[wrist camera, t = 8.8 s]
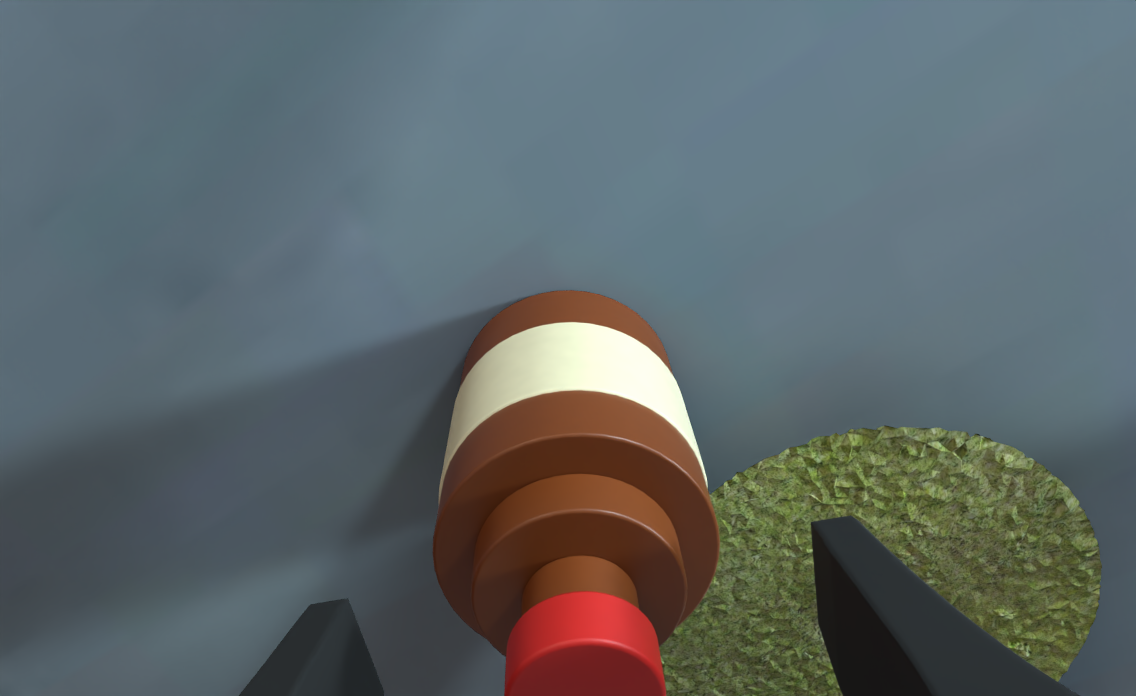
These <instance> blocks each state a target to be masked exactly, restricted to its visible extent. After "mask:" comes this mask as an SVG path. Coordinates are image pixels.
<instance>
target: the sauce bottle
mask: <svg viewBox="0 0 1136 696" xmlns="http://www.w3.org/2000/svg"><path fill="white" fill-rule="evenodd" d="M719 550H720V537H719V527H718V523H717V519H716V515H715V512H714V508H713V505H712V502H711V499H710V495H709V492H708V487H707V477H706V474H705V470H704V466H703V463H702V459H701V456H700V453H699V450H698V446H697V443H696V440H695V437H694V433H693V430H692V427H691V424H690V420H689V417H688V414H687V411H686V408H685V404H684V401H683V398H682V395H681V392H680V389H679V387H678V385H677V382H676V380H675V378H674V377H673V373H672V370H671V367H670V363H669V360H668V357H667V354H666V352H665V349H664V347H663V345H662V343H661V341H660V339H659V338H658V336H657V334H656V333H655V332H654V330H653V329H652V328H651V327H650V326H649V324H648V323H647V322H646V321H645V320H644V319H643V318H641V317H640V316H639V315H638V314H637V313H636V312H634V311H633V310H631V309H630V308H628V307H627V306H625V305H623V304H621V303H619V302H617V301H615V300H613V299H610V298H608V297H605V296H602V295H599V294H594V293H589V292H583V291H572V290H570V291H553V292H547V293H541V294H538V295H534V296H531V297H528V298H526V299H523V300H521V301H518V302H516V303H514V304H513V305H511V306H509V307H507V308H506V309H504V310H503V311H501V312H500V313H499V314H497V315H496V316H495V317H494V318H492V319H491V320H490V321H489V322H488V323H487V324H486V325H485V326H484V327H483V329H482V330H481V331H480V333H479V334H478V335H477V337H476V338H475V340H474V342H473V344H472V345H471V347H470V349H469V352H468V354H467V357H466V360H465V363H464V368H463V372H462V378H461V384H460V389H459V392H458V395H457V398H456V401H455V405H454V410H453V415H452V420H451V426H450V431H449V437H448V442H447V448H446V453H445V459H444V464H443V470H442V475H441V481H440V486H439V508H438V514H437V519H436V525H435V531H434V536H433V561H434V569H435V572H436V576H437V579H438V582H439V585H440V587H441V589H442V591H443V593H444V595H445V597H446V599H447V600H448V602H449V604H450V605H451V607H452V608H453V610H454V611H455V612H456V613H457V614H458V615H459V616H460V618H461V619H462V620H463V621H464V622H465V623H466V624H467V625H469V626H470V627H471V628H472V629H473V630H474V631H475V632H477V633H478V634H480V635H481V636H483V637H484V638H486V639H487V640H488V641H489V642H490V643H491V644H492V646H493V647H494V648H496V649H497V650H498V651H499V652H500V653H501V654H503V655H504V656H506V672H505V693H504V696H666V686H665V680H664V674H663V668H662V662H661V656H660V650H659V647H660V646H661V645H662V644H663V643H664V642H665V641H666V640H667V639H668V638H669V637H670V635H671V634H672V633H673V632H674V630H675V628H676V627H678V626H679V625H680V624H681V623H682V622H683V621H684V620H685V619H686V618H687V617H688V616H689V615H690V614H691V613H692V612H693V611H694V610H695V608H696V607H697V606H698V605H699V603H700V602H701V601H702V599H703V597H704V596H705V594H706V592H707V591H708V589H709V587H710V585H711V582H712V580H713V577H714V575H715V572H716V568H717V563H718V559H719Z"/></svg>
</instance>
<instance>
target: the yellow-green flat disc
mask: <svg viewBox="0 0 1136 696" xmlns="http://www.w3.org/2000/svg"><path fill="white" fill-rule="evenodd" d="M710 499H711V502H712V505H713V508H714V512H715V515H716V519H717V523H718V527H719V537H720V550H719V559H718V563H717V568H716V572H715V575H714V577H713V580H712V582H711V585H710V587H709V589H708V591H707V592H706V594H705V596H704V597H703V599H702V601H701V602H700V603H699V605H698V606H697V607H696V608H695V610H694V611H693V612H692V613H691V614H690V615H689V616H688V617H687V618H686V619H685V620H684V621H683V622H682V623H681V624H680V625H679V626H678V627H676V628H675V630H674V632H673V633H672V634H671V635H670V637H669V638H668V639H667V640H666V641H665V642H664V643H663V644H662V645H661V646H660V647H659V650H660V656H661V662H662V668H663V674H664V680H665V686H666V696H843V694H842V692H841V690H840V688H839V685H838V682H837V679H836V676H835V673H834V670H833V667H832V664H831V661H830V658H829V655H828V652H827V649H826V646H825V643H824V640H823V637H822V634H821V631H820V628H819V624H818V614H817V601H816V588H815V574H814V561H813V548H812V535H811V522H814V521H820V520H826V519H832V518H838V517H844V516H850V515H851V516H853V517H854V518H856V519H857V520H859V521H860V522H861V523H862V524H863V525H864V526H865V527H866V528H867V529H868V530H869V531H870V532H871V533H872V534H873V535H874V536H875V537H876V538H877V539H878V540H879V541H880V542H881V543H882V544H883V545H884V546H885V547H887V548H888V549H889V550H890V551H891V552H892V553H893V554H894V555H895V556H896V557H897V558H898V559H900V560H901V561H902V562H903V563H904V564H905V565H906V566H907V567H908V568H909V569H911V570H912V571H913V572H914V573H915V574H916V575H917V576H918V577H920V578H921V579H922V580H923V581H924V582H925V583H926V584H928V585H929V586H930V587H931V588H932V589H934V590H935V591H936V592H937V593H938V594H940V595H941V596H942V597H943V598H944V599H946V600H947V601H948V602H949V603H950V604H952V605H953V606H954V607H955V608H956V609H958V610H959V611H960V612H961V613H963V614H964V615H965V616H966V617H968V618H969V619H970V620H972V621H973V622H974V623H975V624H977V625H978V626H979V627H981V628H982V629H983V630H985V631H986V632H987V633H989V634H990V635H991V636H993V637H994V638H995V639H997V640H998V641H999V642H1001V643H1002V644H1003V645H1005V646H1006V647H1007V648H1009V649H1010V650H1012V651H1013V652H1014V653H1016V654H1017V655H1019V656H1020V657H1021V658H1023V659H1024V660H1026V661H1027V662H1029V663H1030V664H1031V665H1033V666H1034V667H1036V668H1037V669H1039V670H1040V671H1042V672H1043V673H1045V674H1046V675H1048V676H1049V677H1051V678H1053V679H1054V680H1056V681H1057V682H1058V681H1059V679H1060V678H1061V676H1062V674H1064V673H1065V672H1067V670H1068V668H1069V665H1070V664H1071V662H1072V661H1073V660H1074V658H1075V657H1076V656H1077V655H1078V653H1079V651H1080V649H1081V648H1082V646H1083V644H1084V643H1085V641H1086V639H1087V636H1088V633H1089V631H1090V627H1091V625H1092V624H1093V622H1094V620H1095V616H1096V612H1097V609H1098V606H1099V603H1098V600H1099V589H1100V587H1101V586H1100V584H1099V583H1100V581H1101V568H1102V565H1101V561H1100V553H1099V546H1098V542H1097V540H1096V539H1095V538H1094V530H1093V528H1092V526H1091V525H1090V521H1089V520H1088V519H1087V517H1086V515H1085V512H1084V510H1083V509H1082V508H1080V507H1079V504H1080V502H1079V501H1078V500H1077V499H1076V498H1075V496H1074V495H1073V494H1072V492H1071V491H1070V489H1069V488H1068V487H1067V486H1065V485H1064V484H1063V483H1062V482H1061V481H1060V479H1059V478H1057V477H1055V476H1052V474H1051V472H1049V471H1048V470H1047V469H1045V467H1044V466H1043V465H1041V464H1039V463H1037V462H1036V461H1035V460H1033V459H1032V458H1026V456H1025V455H1024V454H1023V452H1020V451H1018V450H1017V449H1015V448H1014V447H1011V446H1008V445H1005V444H1000V443H996V442H993V441H992V440H991V439H990V438H986V437H982V436H980V435H979V434H975V435H974V436H972V437H971V438H970V436H969V435H968V433H967V432H962V431H946V430H944V429H941V428H932V429H928V428H906V427H900V428H893V427H889V426H882V427H879V428H877V430H871V429H865V428H861V429H857V430H853V429H850V430H849V431H848V433H845V434H843V435H838V434H837V433H835V434H833V435H832V436H819V437H817V438H814V439H811V440H810V442H809V443H808V444H805V445H801V446H798V447H791V448H788V449H786V450H785V451H783V452H782V453H781V454H779V455H775V456H772V457H769V458H766V459H763V460H762V461H760V462H759V463H757V464H755V465H753V466H751V467H750V468H748V469H747V470H745V471H744V472H737V473H736V474H735V476H734V477H733V479H732V480H728V481H726V482H725V483H724V485H722V486H721V487H719V488H718V489H717V490H715V491H714V492H713V493H711V494H710Z"/></svg>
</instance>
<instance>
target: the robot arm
mask: <svg viewBox="0 0 1136 696" xmlns="http://www.w3.org/2000/svg"><path fill="white" fill-rule="evenodd" d="M811 535H812V548H813V561H814V574H815V588H816V601H817V614H818V624H819V628H820V631H821V634H822V637H823V640H824V643H825V646H826V649H827V652H828V655H829V658H830V661H831V664H832V667H833V670H834V673H835V676H836V679H837V682H838V685H839V688H840V690H841V692H842V694H843V696H1079V695H1078V694H1076V693H1074V692H1073V691H1071V690H1070V689H1068V688H1066V687H1065V686H1063V685H1062V684H1060V683H1059V682H1057V681H1056V680H1054V679H1053V678H1051V677H1049V676H1048V675H1046V674H1045V673H1043V672H1042V671H1040V670H1039V669H1037V668H1036V667H1034V666H1033V665H1031V664H1030V663H1029V662H1027V661H1026V660H1024V659H1023V658H1021V657H1020V656H1019V655H1017V654H1016V653H1014V652H1013V651H1012V650H1010V649H1009V648H1007V647H1006V646H1005V645H1003V644H1002V643H1001V642H999V641H998V640H997V639H995V638H994V637H993V636H991V635H990V634H989V633H987V632H986V631H985V630H983V629H982V628H981V627H979V626H978V625H977V624H975V623H974V622H973V621H972V620H970V619H969V618H968V617H966V616H965V615H964V614H963V613H961V612H960V611H959V610H958V609H956V608H955V607H954V606H953V605H952V604H950V603H949V602H948V601H947V600H946V599H944V598H943V597H942V596H941V595H940V594H938V593H937V592H936V591H935V590H934V589H932V588H931V587H930V586H929V585H928V584H926V583H925V582H924V581H923V580H922V579H921V578H920V577H918V576H917V575H916V574H915V573H914V572H913V571H912V570H911V569H909V568H908V567H907V566H906V565H905V564H904V563H903V562H902V561H901V560H900V559H898V558H897V557H896V556H895V555H894V554H893V553H892V552H891V551H890V550H889V549H888V548H887V547H885V546H884V545H883V544H882V543H881V542H880V541H879V540H878V539H877V538H876V537H875V536H874V535H873V534H872V533H871V532H870V531H869V530H868V529H867V528H866V527H865V526H864V525H863V524H862V523H861V522H860V521H859V520H857V519H856V518H854V517H853V516H851V515H850V516H844V517H838V518H832V519H826V520H820V521H814V522H811ZM239 696H384V690H383V688H382V685H381V682H380V680H379V677H378V675H377V672H376V669H375V667H374V664H373V662H372V659H371V657H370V654H369V651H368V649H367V646H366V644H365V641H364V639H363V636H362V633H361V631H360V628H359V626H358V623H357V621H356V618H355V615H354V613H353V610H352V608H351V605H350V602H349V600H348V598H347V599H341V600H335V601H329V602H323V603H317V604H311V605H310V606H309V607H308V608H307V609H306V610H305V612H304V613H303V614H302V615H301V617H300V618H299V619H298V620H297V622H296V623H295V624H294V626H293V627H292V628H291V629H290V631H289V632H288V633H287V635H286V636H285V637H284V639H283V640H282V641H281V642H280V644H279V645H278V646H277V648H276V649H275V650H274V652H273V653H272V654H271V656H270V657H269V658H268V659H267V661H266V662H265V663H264V665H263V666H262V667H261V668H260V670H259V671H258V672H257V674H256V675H255V676H254V677H253V679H252V680H251V681H250V682H249V684H248V685H247V686H246V687H245V689H244V690H243V691H242V692H241V694H240V695H239Z"/></svg>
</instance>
